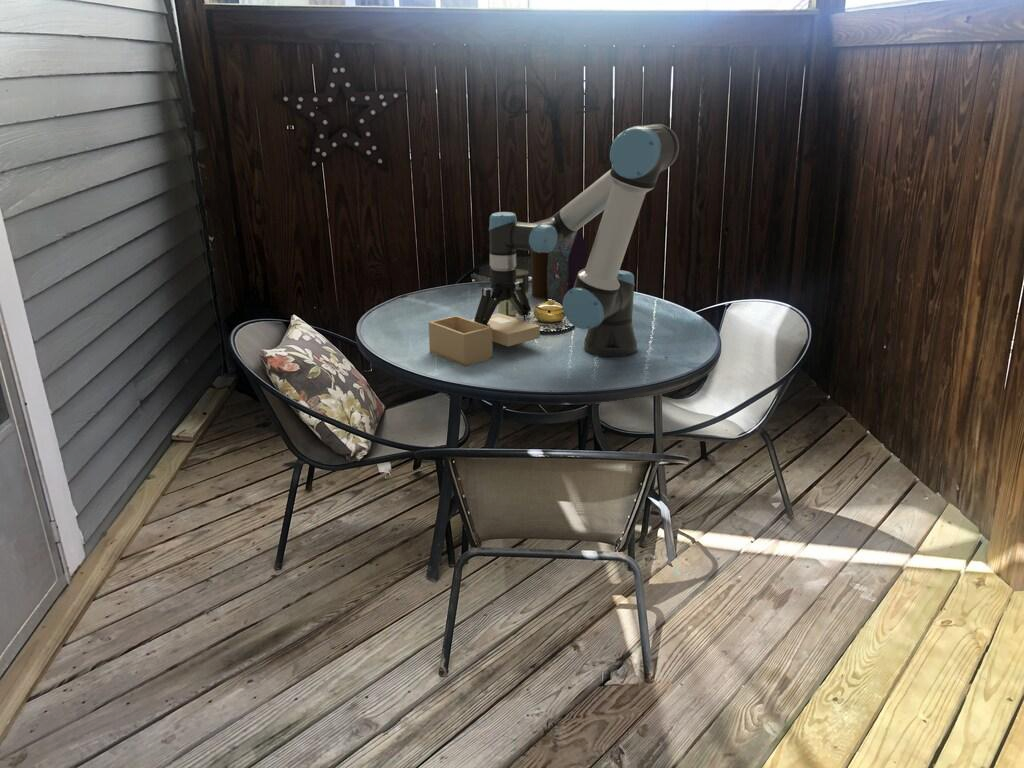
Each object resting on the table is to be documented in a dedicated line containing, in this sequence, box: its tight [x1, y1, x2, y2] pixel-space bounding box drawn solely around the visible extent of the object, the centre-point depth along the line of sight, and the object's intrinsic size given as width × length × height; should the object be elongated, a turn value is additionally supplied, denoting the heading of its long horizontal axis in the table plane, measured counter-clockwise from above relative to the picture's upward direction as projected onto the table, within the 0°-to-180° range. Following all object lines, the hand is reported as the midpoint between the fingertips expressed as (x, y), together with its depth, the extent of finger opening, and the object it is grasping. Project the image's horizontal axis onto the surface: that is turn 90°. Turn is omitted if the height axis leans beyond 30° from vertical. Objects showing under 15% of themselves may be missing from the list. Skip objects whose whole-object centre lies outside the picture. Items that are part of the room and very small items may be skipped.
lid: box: [470, 312, 541, 347], centre depth 244 cm, size 18×12×4 cm
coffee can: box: [497, 268, 530, 318], centre depth 274 cm, size 10×10×14 cm
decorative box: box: [546, 227, 590, 305], centre depth 282 cm, size 8×16×28 cm, turn 24°
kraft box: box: [428, 315, 493, 367], centre depth 236 cm, size 16×10×9 cm, turn 41°
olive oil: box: [530, 251, 548, 299], centre depth 296 cm, size 11×11×25 cm
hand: (503, 340), depth 245 cm, fingers closed on lid, 12 cm apart
